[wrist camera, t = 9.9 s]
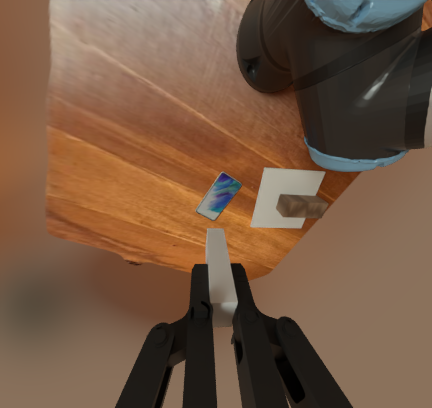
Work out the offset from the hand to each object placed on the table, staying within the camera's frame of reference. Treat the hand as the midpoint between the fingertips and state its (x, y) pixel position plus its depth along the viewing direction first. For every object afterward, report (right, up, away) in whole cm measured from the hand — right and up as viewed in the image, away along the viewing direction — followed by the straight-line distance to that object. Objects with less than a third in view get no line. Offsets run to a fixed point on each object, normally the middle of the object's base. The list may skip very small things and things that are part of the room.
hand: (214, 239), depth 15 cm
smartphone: (+1, +6, +31) cm, 32 cm away
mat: (+22, +4, +33) cm, 40 cm away
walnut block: (+19, +3, +30) cm, 36 cm away
